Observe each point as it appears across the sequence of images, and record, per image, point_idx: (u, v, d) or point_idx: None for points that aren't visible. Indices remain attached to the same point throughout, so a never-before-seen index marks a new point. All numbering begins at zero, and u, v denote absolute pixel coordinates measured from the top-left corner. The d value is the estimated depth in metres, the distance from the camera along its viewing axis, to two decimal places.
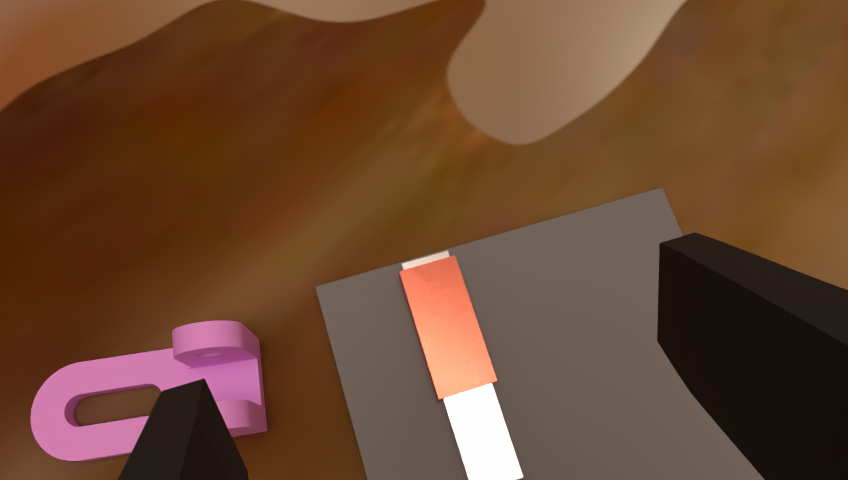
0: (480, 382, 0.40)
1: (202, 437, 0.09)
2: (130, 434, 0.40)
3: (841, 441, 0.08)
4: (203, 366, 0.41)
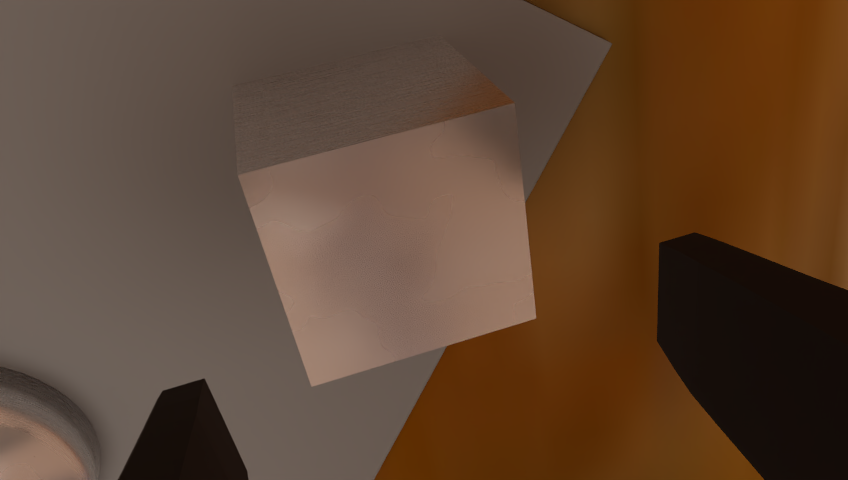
0: None
1: (202, 437, 0.09)
2: None
3: (841, 441, 0.08)
4: None
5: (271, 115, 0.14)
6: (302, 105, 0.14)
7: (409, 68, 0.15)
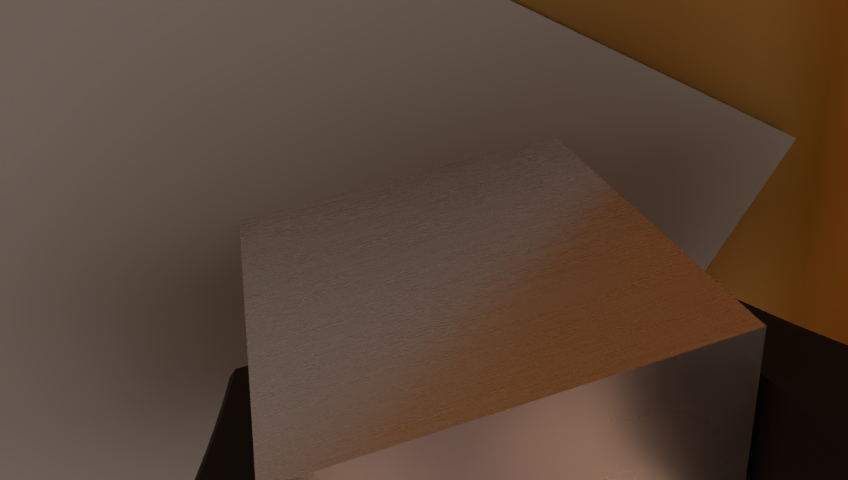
0: None
1: None
2: None
3: (762, 469, 0.08)
4: None
5: (308, 306, 0.08)
6: (359, 285, 0.08)
7: (527, 209, 0.09)
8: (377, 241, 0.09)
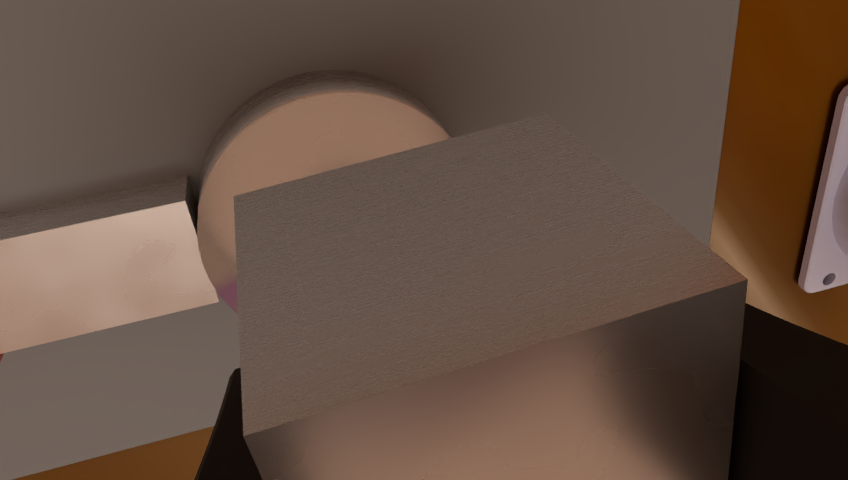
0: None
1: None
2: None
3: (762, 469, 0.08)
4: None
5: (298, 270, 0.08)
6: (349, 251, 0.08)
7: (516, 179, 0.09)
8: (368, 211, 0.09)
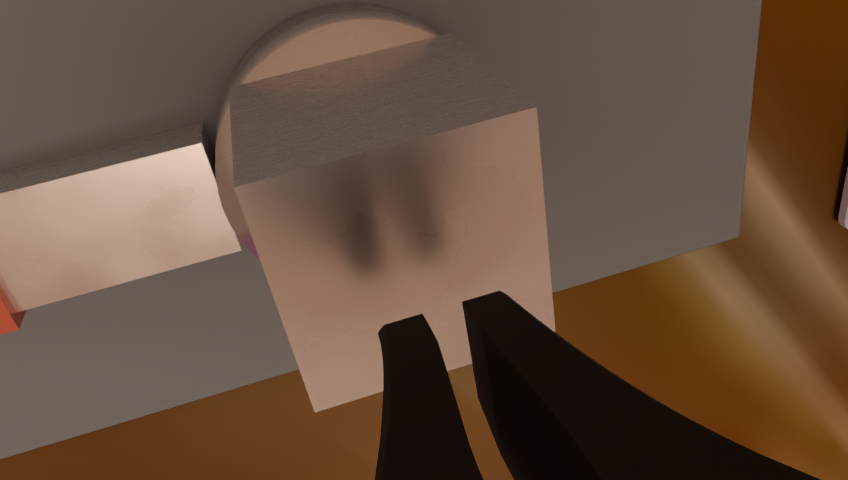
0: None
1: None
2: None
3: None
4: None
5: (270, 120, 0.13)
6: (304, 109, 0.13)
7: (419, 69, 0.14)
8: (319, 90, 0.14)
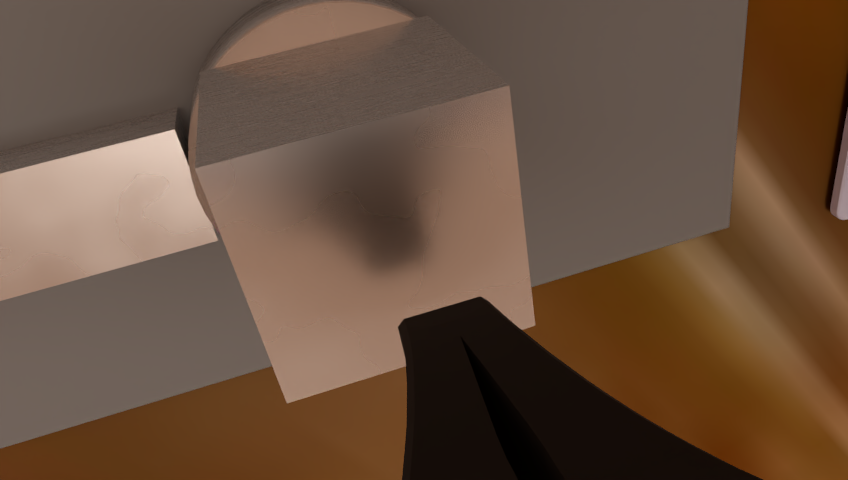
0: None
1: None
2: None
3: None
4: None
5: (239, 102, 0.12)
6: (274, 91, 0.13)
7: (393, 50, 0.13)
8: (291, 72, 0.13)
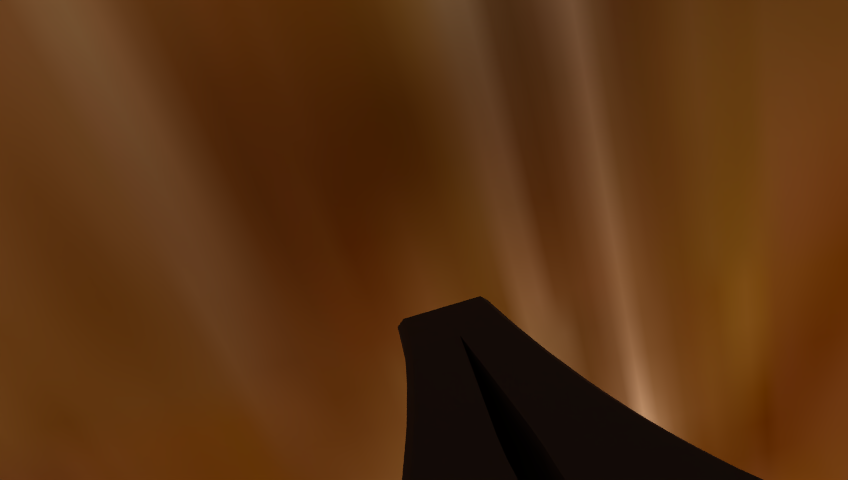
0: None
1: None
2: None
3: None
4: None
5: None
6: None
7: None
8: None
